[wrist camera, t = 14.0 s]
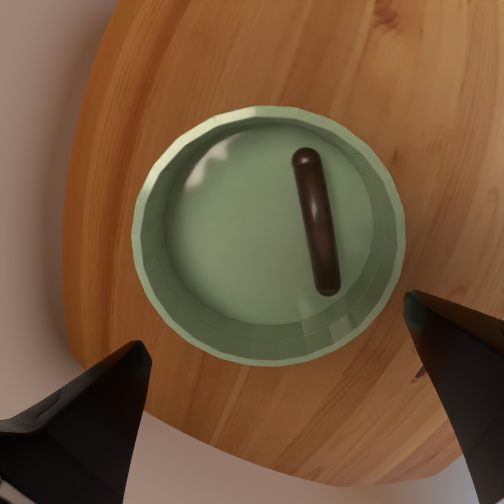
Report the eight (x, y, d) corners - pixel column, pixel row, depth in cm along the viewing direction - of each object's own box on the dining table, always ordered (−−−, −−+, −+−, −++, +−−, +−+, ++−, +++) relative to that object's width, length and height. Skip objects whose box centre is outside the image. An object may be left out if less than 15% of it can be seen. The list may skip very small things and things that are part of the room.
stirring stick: (324, 305, 18) (312, 294, 20) (347, 295, 18) (334, 285, 20) (295, 149, 15) (283, 150, 16) (323, 143, 15) (309, 145, 17)
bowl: (383, 304, 20) (404, 338, 16) (197, 339, 22) (185, 377, 18) (357, 99, 15) (383, 86, 11) (133, 153, 17) (99, 157, 13)
